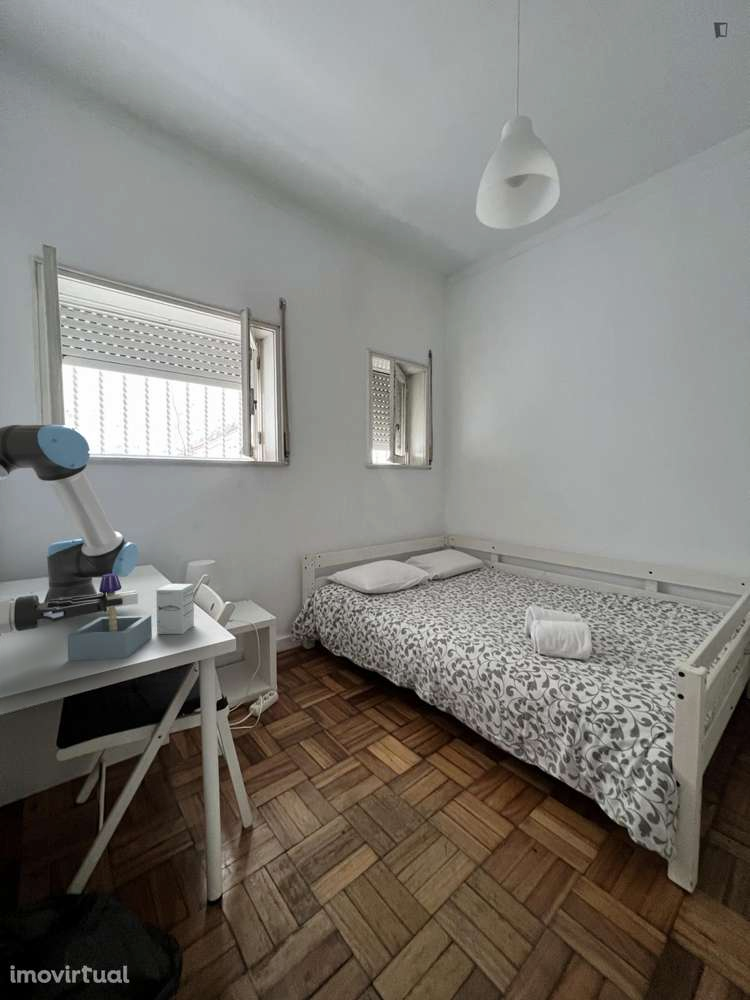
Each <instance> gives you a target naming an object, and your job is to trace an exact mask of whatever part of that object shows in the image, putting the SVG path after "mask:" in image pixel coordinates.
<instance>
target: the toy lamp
mask: <svg viewBox="0 0 750 1000" xmlns="http://www.w3.org/2000/svg"><path fill="white" fill-rule="evenodd" d="M99 585H100V586H99V593H106V596H107V597H109V596H115V593H116V592H118V591H120V590H121V589H122V585H121V582H120V578H119V577H118V576H117V574H114V573H113V574H106V575H103V577H102V578H101V580H100V584H99ZM116 613H117V609H116V607H112V608H107V614H108V615H107V617H108V619H109V626H110V628H109V631H110V632H114V631H117V626H116V625H117V621H116V618H117V616H118V615H117V614H116Z"/></svg>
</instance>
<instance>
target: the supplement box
mask: <svg viewBox="0 0 750 1000" xmlns="http://www.w3.org/2000/svg"><path fill="white" fill-rule="evenodd" d="M194 589H195V587H194V583H168V584H166V585H163V586H161V587H159V588H157V589H156V635H163V634H164V635H167V634H168V635H169V634H170V635H171V634H172V635H183V634H185V633H186V632H187V631H189V630H188V629H189V628H190V629H191V628H192V627H193V625H195V611H194V610H195V607H194V605H195V604H194V603H195V599H194V598H195V596H194V595H195V594H194V593H195V591H194Z"/></svg>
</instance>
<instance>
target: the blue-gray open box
mask: <svg viewBox="0 0 750 1000" xmlns="http://www.w3.org/2000/svg"><path fill="white" fill-rule="evenodd" d="M116 616H117V618H116V621H117V625H116V626H117V631H114V632H110V631H109V628H110V626H109V619H108V616H100V617H98V618H96V619H94V620H93V621H91V622H89V623H87V624H85V625H83V626H82V627H80V628H78V629H76V630H75V631H73V632H71V633H69V634H67V636H66V637H67V639H66V640H67V661H68V662H71V661H89V660H90V661H91V660H111V659H112V660H113V659H127V658H129V656H131V655H132V654H133V653H134V652H136V651H137V650H138V649H139V648H141V646H143V645H144V644H146V642H148V641H149V640H150V639H151V638H152V636H153V633H152V630H153V628H152V614H149V615H146V614H145V615H123V616H122V615H119V616H118V615H116Z"/></svg>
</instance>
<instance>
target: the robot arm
mask: <svg viewBox="0 0 750 1000" xmlns="http://www.w3.org/2000/svg"><path fill="white" fill-rule="evenodd" d="M90 451H91V450H90V446H89V443H88V441H87V439H86V438H85V436H84V435H83V434H82V433H81V432H80V431H79V430H78V429H75V428H73V427H71V426H68V425H59V424H51V423H50V424H25V425H24V424H23V425H22V424H10V425H5V426H1V427H0V481H2V480H5V479H6V478H7V477H8V476H9V474H11V473H12V472H13V471H16V470H18V469H32V470H33V472H34V473H35V474H36V476H37V478H38V479H39V480H40V481H41V482H46V483H49V486H50V487H51V488H52V490H53V492H54V494H55V496H56V497H57V499H58V501H59V503H60V504H61V506H62V508H63V510H64V512H65V513H66V514H67V516H68V518H69V519H70V522H71V523H72V525H73V527H74V529H75V530H76V532H77V534H78V536H79V538H78V539H71V540H65V541H58V542H53V543H51V544H49V545H48V547H47V556H46V558H47V577H48V578H47V579H48V589H47V593H46V595H45V598H44V600H43V602H41V603H40V599H39V596H38V595H36V594H35V595H34V594H33V595H26V596H19V597H17V598H16V599H14V598H13V597H10V598H9V597H8V598H1V599H0V637H1V636H2V634H8V633H9V634H10V633H12V632H14V630H16V631H18V632H21V631H28V630H33V629H34V630H35V629H37V628H38V626H39V625H40V620H47V619H48V620H50V621H51V622H56V621H60V620H64V619H69V618H73V617H81V616H85V615H90V614H96V613H101V612H103V613H108V608H112V607H115V608H117V607H123V606H124V607H126V606H130V605H137V604H139V598H138V597H139V596H138V592H137V590H129V591H124V592H122V591H121V592H117V593H116V592H115V596H109V597H107V593H101V592H99V593H98V592H97V589H96V588H95V585H94V583H93V582H94V581H93V578H95V579H96V578H97V579H98V578H99V579H100V578H101V579H102V577H103V575H106V574H113V573H114V574H117V576H118V578H125V577H127V576H130V575H131V574H132V573H133V572H134V570H135V568H136V567H137V563H138V559H139V547H138V546H137V544H136V543H135V542H131V541H128V542H126V540H125V538H124V535H122V534H121V533H120V532H119V531H114V528H113V526H112V524H111V523H110V520H109V519H108V517H107V514H106V512H105V511H104V509H103V507H102V504H101V503H100V501H99V499H98V497H97V495H96V493H95V491H94V489H93V487H92V485H91V483H90V481H89V479H88V477H87V475H86V473H85V471H86V469H87V468H88V462H89V460H90V456H91V455H90V454H91V453H89V452H90Z"/></svg>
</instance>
